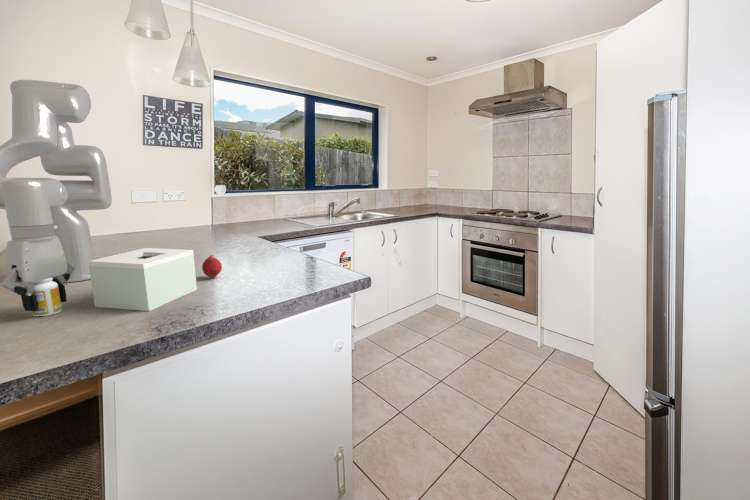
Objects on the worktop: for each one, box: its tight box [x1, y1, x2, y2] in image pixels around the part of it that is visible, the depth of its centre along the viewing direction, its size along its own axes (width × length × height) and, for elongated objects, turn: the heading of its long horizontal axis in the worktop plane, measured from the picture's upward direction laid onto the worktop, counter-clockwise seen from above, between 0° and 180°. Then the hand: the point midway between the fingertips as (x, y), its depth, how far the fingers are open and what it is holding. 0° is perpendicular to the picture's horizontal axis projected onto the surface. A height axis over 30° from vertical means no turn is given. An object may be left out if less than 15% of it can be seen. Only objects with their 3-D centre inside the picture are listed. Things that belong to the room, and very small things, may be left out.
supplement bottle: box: [31, 278, 63, 317], centre depth 87 cm, size 5×5×10 cm
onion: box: [201, 254, 223, 279], centre depth 118 cm, size 6×6×8 cm
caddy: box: [88, 247, 198, 312], centre depth 99 cm, size 16×18×12 cm
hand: (46, 305), depth 88 cm, fingers open, 5 cm apart
